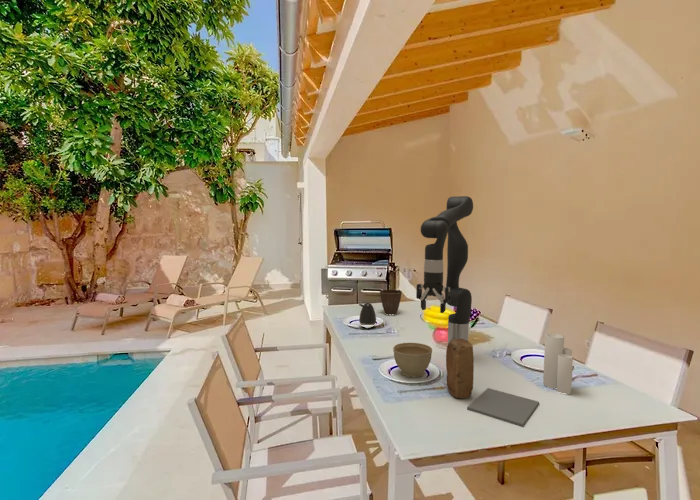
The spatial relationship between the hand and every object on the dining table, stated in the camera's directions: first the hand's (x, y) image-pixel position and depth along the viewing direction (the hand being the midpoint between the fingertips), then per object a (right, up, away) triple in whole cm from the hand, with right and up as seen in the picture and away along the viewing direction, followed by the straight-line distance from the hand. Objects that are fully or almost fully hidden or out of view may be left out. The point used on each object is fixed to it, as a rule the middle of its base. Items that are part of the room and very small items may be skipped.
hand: (432, 311), depth 158 cm
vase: (+47, -29, -6) cm, 56 cm away
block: (+7, -29, -11) cm, 32 cm away
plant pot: (-5, -20, +113) cm, 115 cm away
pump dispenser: (-23, -22, +79) cm, 85 cm away
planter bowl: (-7, -28, +8) cm, 30 cm away
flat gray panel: (+20, -30, -22) cm, 42 cm away
